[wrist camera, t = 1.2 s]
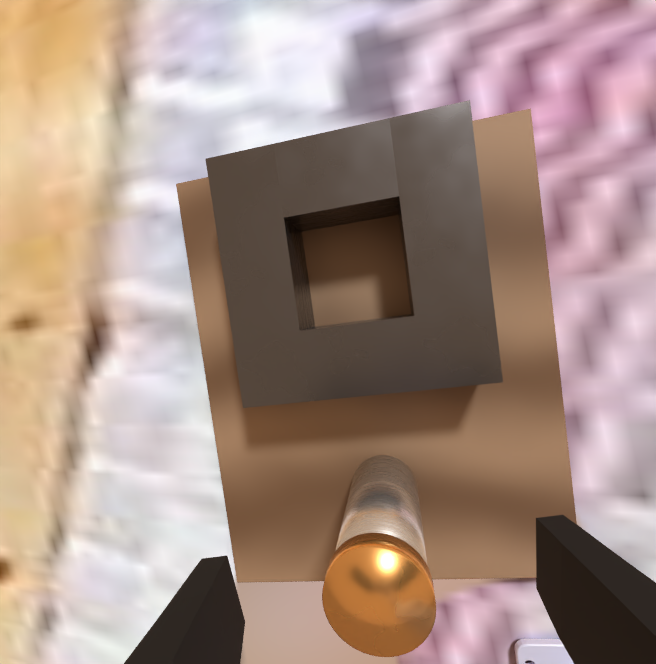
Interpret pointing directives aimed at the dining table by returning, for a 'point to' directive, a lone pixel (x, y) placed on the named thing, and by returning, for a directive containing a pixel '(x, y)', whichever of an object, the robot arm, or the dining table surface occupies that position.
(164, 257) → the dining table surface
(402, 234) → the socket block
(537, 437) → the walnut board
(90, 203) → the dining table surface
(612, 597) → the robot arm
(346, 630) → the metal peg
